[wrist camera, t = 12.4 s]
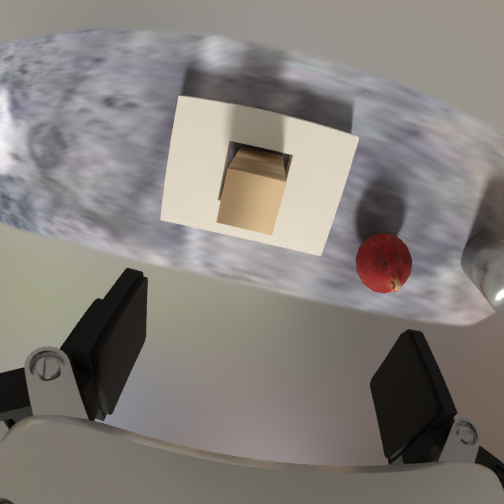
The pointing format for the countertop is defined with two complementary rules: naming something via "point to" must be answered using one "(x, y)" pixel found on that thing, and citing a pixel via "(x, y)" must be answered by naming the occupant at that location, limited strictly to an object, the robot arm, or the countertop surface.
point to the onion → (383, 263)
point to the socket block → (265, 136)
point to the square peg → (253, 191)
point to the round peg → (486, 267)
